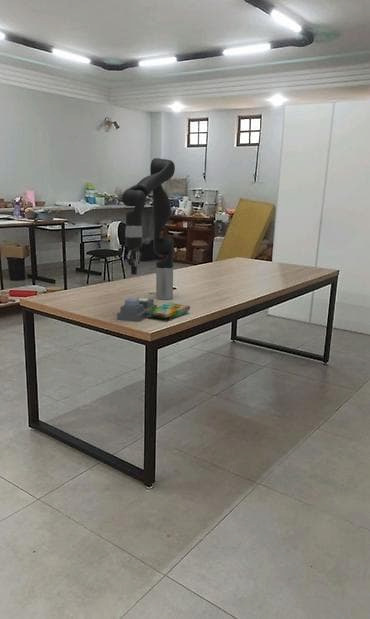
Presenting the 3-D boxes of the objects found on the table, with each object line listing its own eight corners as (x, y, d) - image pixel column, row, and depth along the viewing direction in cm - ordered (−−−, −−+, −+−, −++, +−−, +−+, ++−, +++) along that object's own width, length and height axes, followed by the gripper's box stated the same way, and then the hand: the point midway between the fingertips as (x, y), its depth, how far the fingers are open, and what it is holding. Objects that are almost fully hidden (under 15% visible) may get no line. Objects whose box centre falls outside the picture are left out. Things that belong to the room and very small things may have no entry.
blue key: (129, 304, 221) (129, 298, 220) (139, 305, 220) (139, 299, 219) (124, 306, 217) (124, 300, 216) (134, 307, 215) (134, 301, 214)
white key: (140, 303, 234) (140, 297, 233) (149, 304, 232) (149, 298, 232) (136, 306, 229) (136, 300, 228) (145, 306, 228) (145, 300, 227)
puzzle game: (190, 304, 230) (166, 312, 213) (189, 313, 231) (166, 322, 214) (170, 301, 236) (145, 308, 219) (170, 310, 237) (145, 318, 221)
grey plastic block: (136, 308, 237) (136, 296, 236) (156, 310, 234) (156, 298, 233) (117, 319, 217) (116, 306, 215) (139, 321, 214) (139, 308, 212)
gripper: (132, 235, 219) (132, 272, 223) (120, 236, 207) (120, 275, 211) (147, 235, 217) (147, 273, 221) (135, 237, 205) (135, 276, 209)
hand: (133, 274), depth 216 cm, fingers closed
